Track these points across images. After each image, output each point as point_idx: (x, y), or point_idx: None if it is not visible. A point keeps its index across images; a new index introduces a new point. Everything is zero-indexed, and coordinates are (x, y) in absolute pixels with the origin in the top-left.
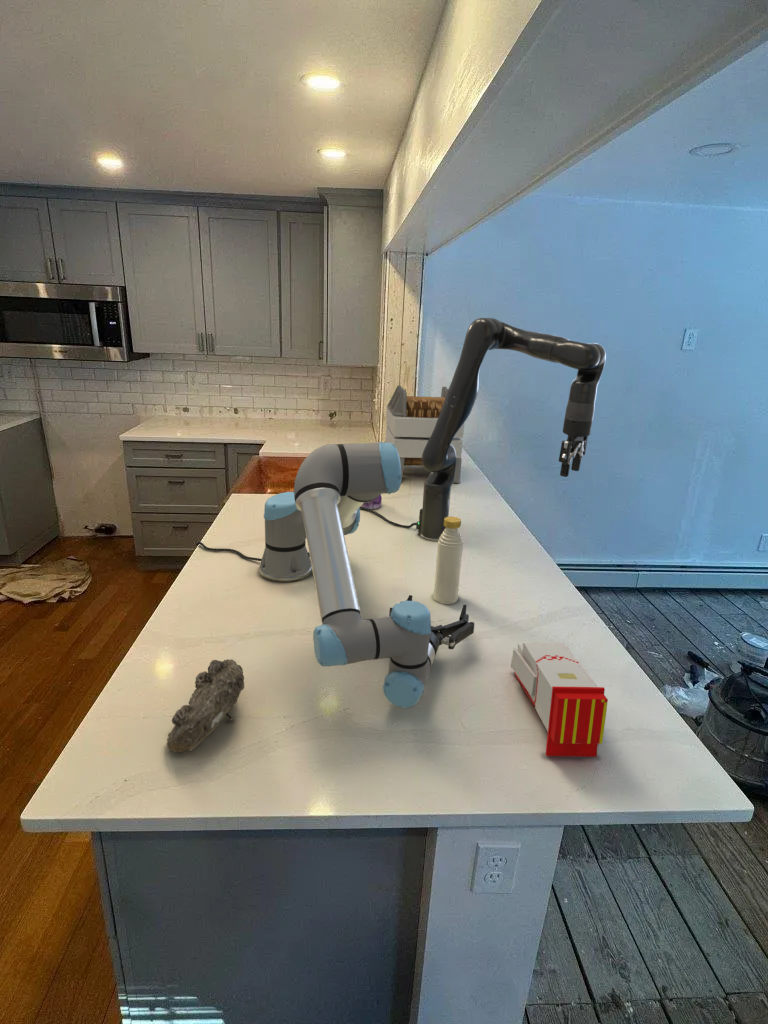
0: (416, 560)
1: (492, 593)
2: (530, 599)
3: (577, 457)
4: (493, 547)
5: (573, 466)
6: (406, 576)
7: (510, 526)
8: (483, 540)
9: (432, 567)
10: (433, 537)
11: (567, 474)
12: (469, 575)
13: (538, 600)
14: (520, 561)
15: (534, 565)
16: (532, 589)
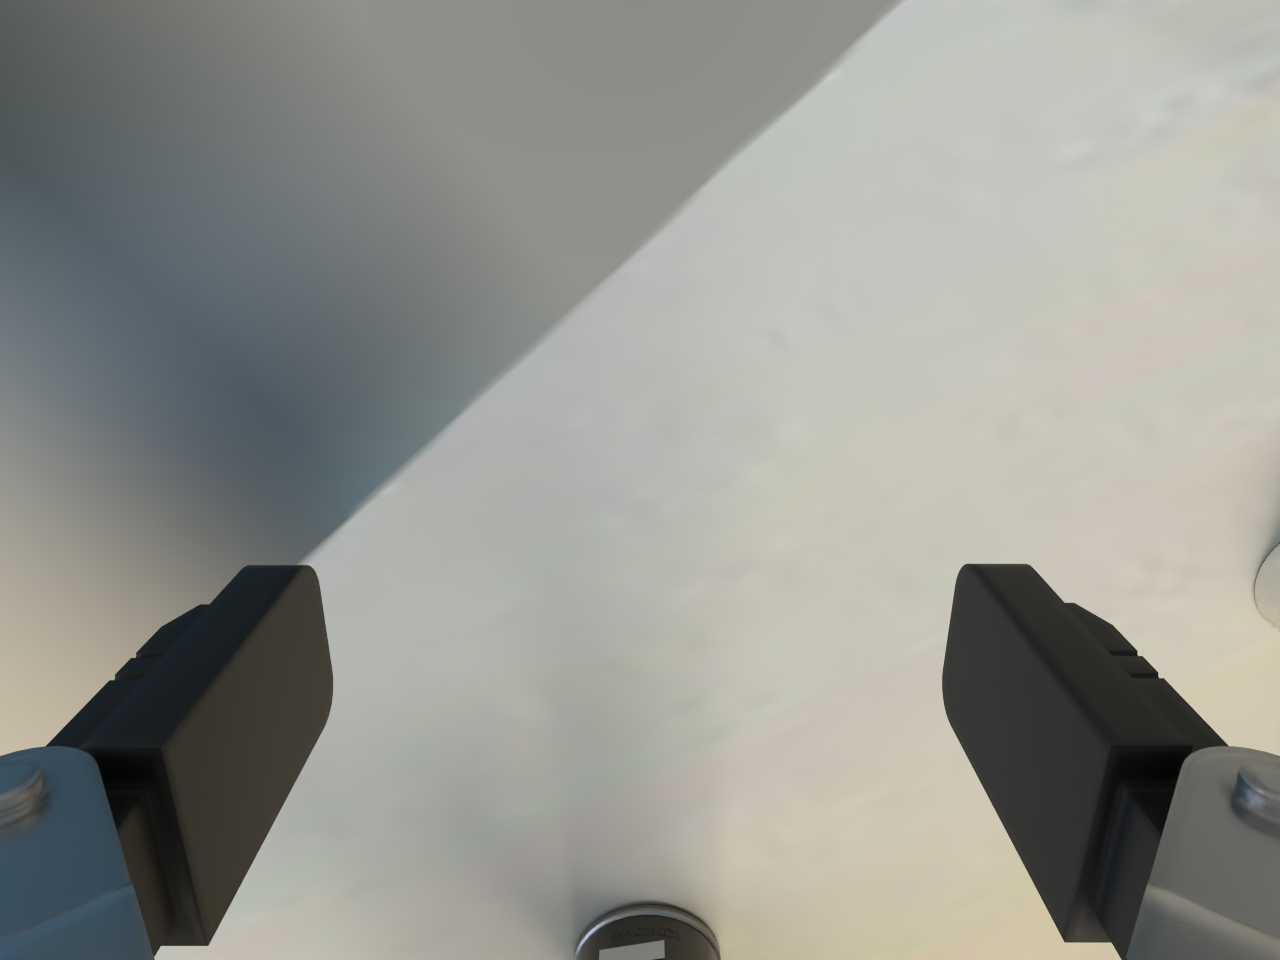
0: (984, 869)
1: (1134, 426)
2: (1087, 225)
3: (147, 867)
4: (540, 691)
5: (301, 722)
6: None
7: None
8: (490, 770)
9: None
10: (710, 947)
11: (1046, 587)
12: None
13: (1073, 180)
14: (612, 495)
15: (604, 408)
16: (947, 273)
